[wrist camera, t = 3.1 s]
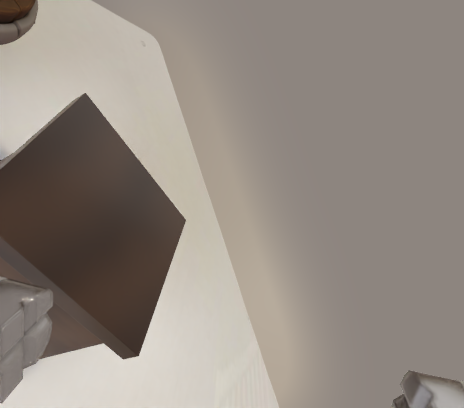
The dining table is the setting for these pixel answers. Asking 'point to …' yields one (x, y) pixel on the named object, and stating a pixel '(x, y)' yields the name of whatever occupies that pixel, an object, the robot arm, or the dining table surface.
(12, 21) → the flowerpot
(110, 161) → the cabinet
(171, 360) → the dining table surface
